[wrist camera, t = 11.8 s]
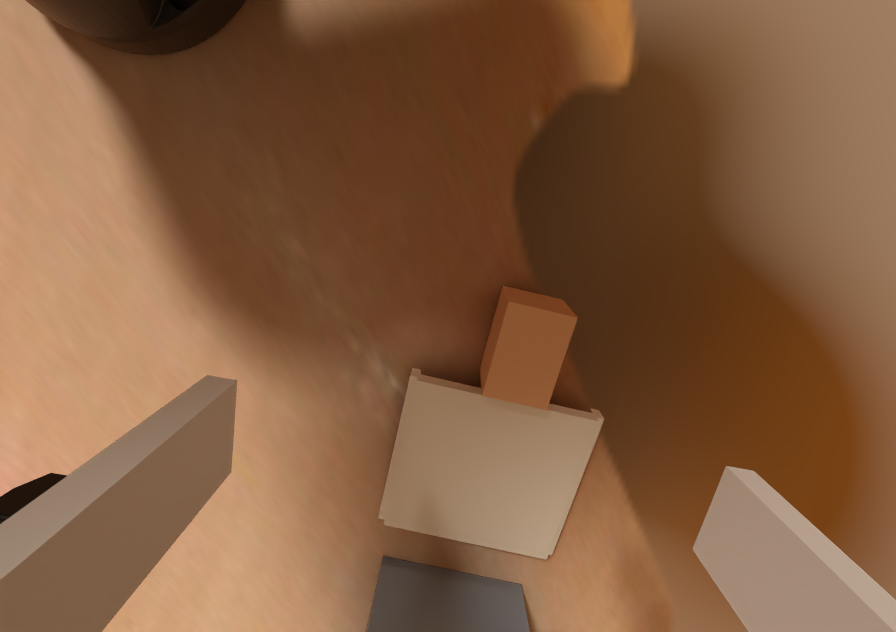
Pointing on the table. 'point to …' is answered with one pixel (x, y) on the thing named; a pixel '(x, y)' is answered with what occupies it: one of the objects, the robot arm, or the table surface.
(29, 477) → the table surface
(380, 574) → the tub
